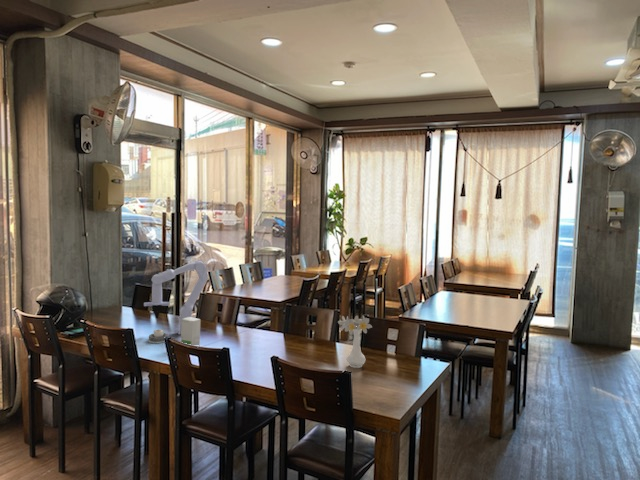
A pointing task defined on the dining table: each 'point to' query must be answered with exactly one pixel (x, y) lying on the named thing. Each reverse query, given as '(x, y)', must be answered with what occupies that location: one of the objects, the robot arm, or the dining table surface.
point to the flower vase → (355, 339)
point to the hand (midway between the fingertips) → (157, 318)
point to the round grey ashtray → (157, 338)
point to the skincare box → (190, 331)
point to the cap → (158, 333)
